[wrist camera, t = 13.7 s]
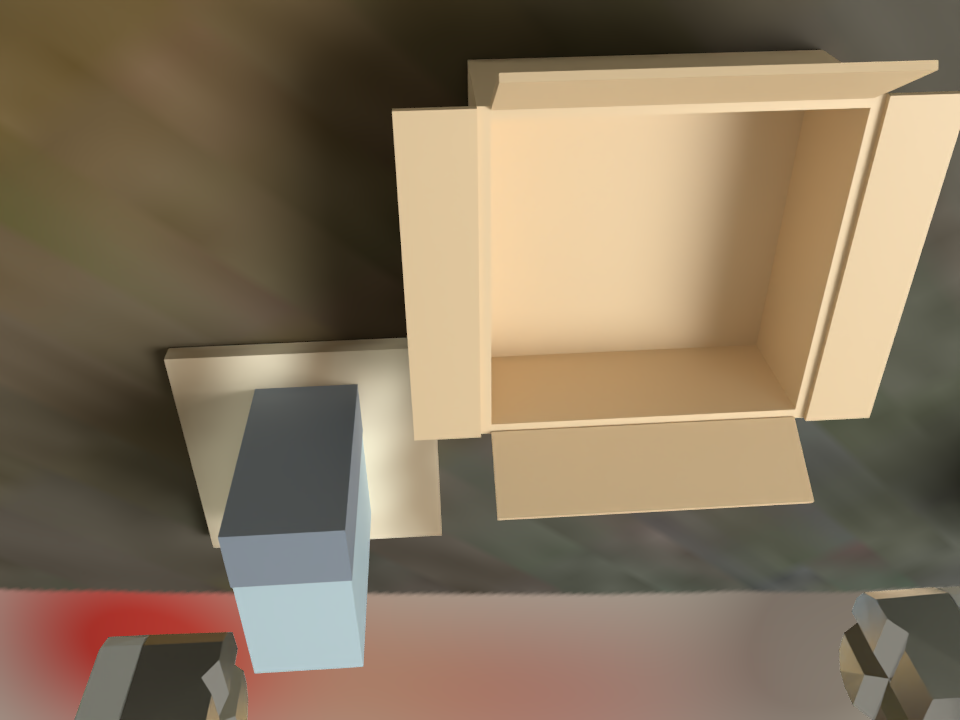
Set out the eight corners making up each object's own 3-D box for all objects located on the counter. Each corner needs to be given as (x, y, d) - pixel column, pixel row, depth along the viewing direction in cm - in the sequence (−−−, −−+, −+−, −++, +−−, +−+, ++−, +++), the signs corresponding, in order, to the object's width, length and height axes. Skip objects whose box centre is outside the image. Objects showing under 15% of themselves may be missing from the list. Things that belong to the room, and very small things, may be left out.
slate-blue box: (357, 384, 43) (345, 530, 35) (372, 513, 48) (364, 668, 40) (255, 389, 43) (217, 537, 35) (280, 518, 48) (253, 675, 40)
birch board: (432, 336, 43) (432, 347, 42) (441, 522, 50) (441, 535, 50) (168, 348, 42) (163, 359, 42) (216, 534, 50) (213, 547, 49)
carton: (905, -6, 35) (1047, 58, 27) (808, 376, 46) (889, 501, 38) (391, 7, 34) (385, 77, 26) (416, 395, 45) (417, 527, 37)
